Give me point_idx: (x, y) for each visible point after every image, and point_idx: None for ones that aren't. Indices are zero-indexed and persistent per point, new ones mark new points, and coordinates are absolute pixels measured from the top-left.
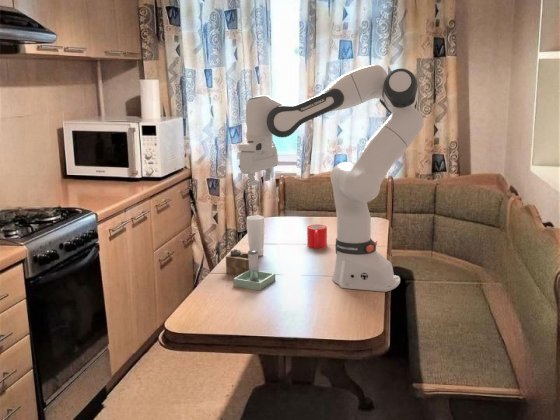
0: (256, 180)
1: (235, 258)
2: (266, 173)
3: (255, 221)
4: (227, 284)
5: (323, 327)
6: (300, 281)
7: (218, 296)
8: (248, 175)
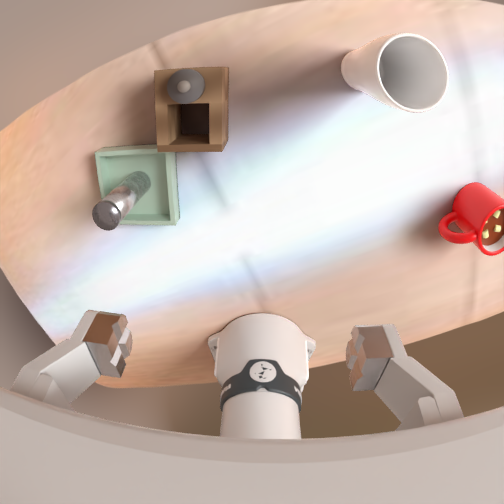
0: (119, 373)
1: (155, 108)
2: (403, 380)
3: (376, 86)
4: (103, 128)
5: None
6: (203, 267)
7: (47, 158)
8: (24, 375)
